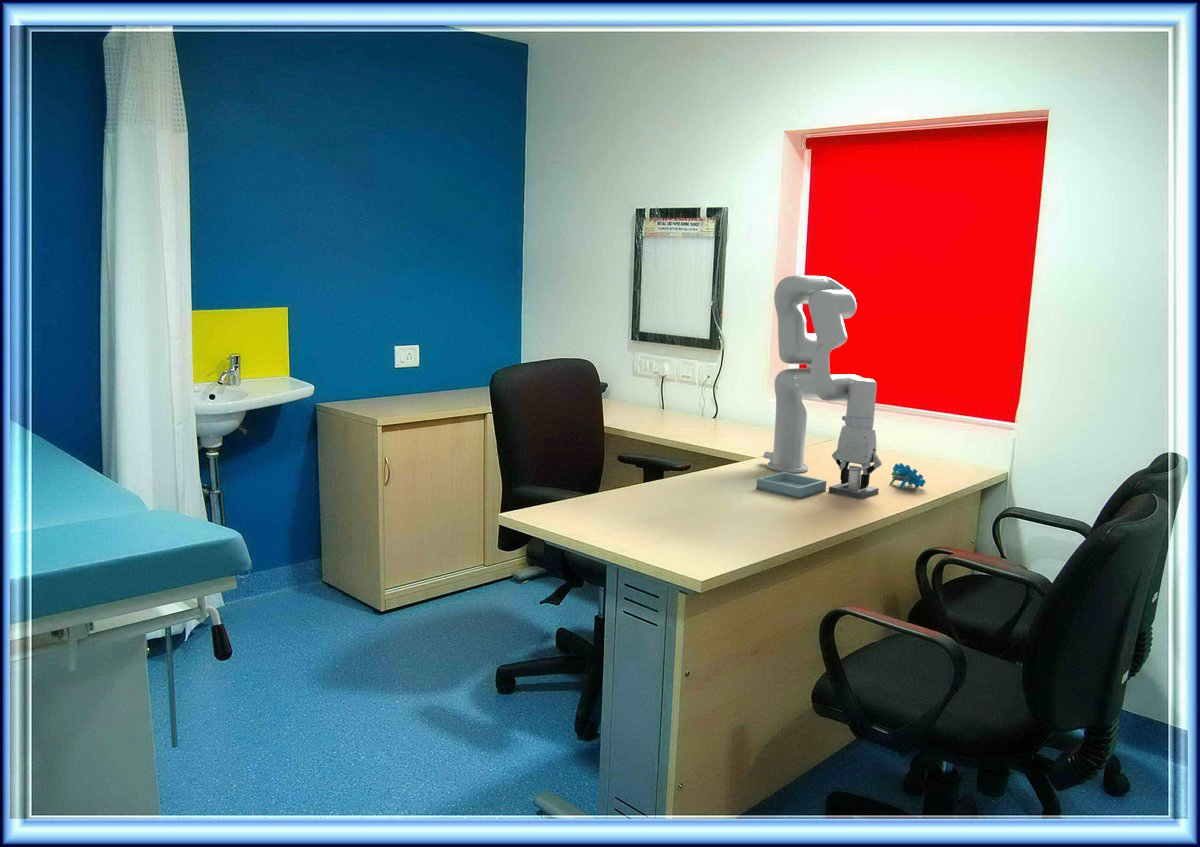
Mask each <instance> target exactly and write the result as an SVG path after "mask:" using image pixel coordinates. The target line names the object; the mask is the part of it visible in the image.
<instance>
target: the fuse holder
mask: <svg viewBox="0 0 1200 847" xmlns="http://www.w3.org/2000/svg"><path fill="white" fill-rule="evenodd" d="M848 483H849V482H848ZM848 483H845V484H841V482H839V483H837V484H834V485H830V486H828V493H833V494H836V493H837V495H842V496H845V495H846V497H851V498H856V499H860V500H862V499H866V498H868V497H871V496H874V495H878V494H879V490H880V489H879V488H880V487H876V486H871V485H868V487H866V488H861V487H860V490H859V491H857V490H852V489H848Z"/></svg>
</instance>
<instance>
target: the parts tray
mask: <svg viewBox="0 0 1200 847" xmlns="http://www.w3.org/2000/svg"><path fill="white" fill-rule="evenodd" d="M755 489H756V490H757V491H758V490H759V491H764V492H767V493H771V494H776V495H779V496H784V497H788V498H792V499H796V500H800V499H804V498H807V497H811V496H814V495H818V494H821V493H825V492H827V480H824V479H819V478H815V477H814V478H813V477H809V476H805V475H801V474H798V473H789V472H778V473H775V474H771V475H767V476H763V477H760V478H756V488H755ZM817 493H818V494H817Z"/></svg>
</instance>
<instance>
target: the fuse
mask: <svg viewBox="0 0 1200 847" xmlns="http://www.w3.org/2000/svg"><path fill="white" fill-rule="evenodd" d="M848 469H849V483H848V489H852V490H857V491H859V490H860V483H861V475H862V472H863V469H862V465H849V466H848Z"/></svg>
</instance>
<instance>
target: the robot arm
mask: <svg viewBox="0 0 1200 847" xmlns="http://www.w3.org/2000/svg"><path fill="white" fill-rule="evenodd" d="M773 297H774V298H773V300H774V306H775V312H776V315H777V334H778V336H777V338H778V339H777V340H778V341H777V342H778V356H779V359H780V361H781V362H782V363H784V364H787V365H806V368H803V367H802V368H801V367H800V368H798V367H797V368H795V367H794V368H786V369H783V370H781V371H780V372H778V373H777V375H776V376H775V379H774V395H775V407H776V408H775V423H774V439H773V451H772V452H771V451H768V450H767V451H765V452H764V453H763V456H762V457H763V459H769V462H767V465H766V466H767V468H768V469H770V470H772V471H776V472H779V473H782V472H787V473H792V474H798V473H804V472H807V471H808V470H809V466H808V464H805V463H804V462H805V461H804V459H805V446H806V434H807V433H806V432H807V422H808V421H807V419H808V413H807V409H806V407H805V404H804V402H803V400H809V399H811V400H812V399H820V400H821V401H823V402H846V414H845V415H843V416H841V420H842V421H843V422H844V425H842V427H841V429H840V433H839V437H838V441H837V442H838V443H837V448H836V450H835V451H834V452H833V453H832V454H831V457H832V459H833V460H834V461H835V462H836V463H835V464H837V466H838V467H839V470H840V483H841V484H845V483H848V482H849V471H850V470H849V466H850V463H851V464H858V465H860V466H861V467H862V473H861V480H860V487H861V488H866V487H868V486H870V485H869V484H870V477H871V476H870V475H871V474H872V472H874V471H875V470H877V469H878V468H879V467H881V466H882V465H883V463H882V461H881V459H880V458H879V456H878V455H877V435H876V428H874V420H875V408H876V399H877V398H876V397H877V389H878V388H877V382H876V381H875V380H874V379H873V378H865V377H862V376H860V375H856V374H850V373H847V374H831V372H830V370H831V368H830V367H831V366H830V353H831V352H832V350H833V351H834V350H835V349H836V348H840V347H841V346H842V345H844V344H845V343H846V342H847V340H848V334H847V331H846V327H845V323H844V320H846V319H850V318H852V317H853V316H854V315H855V314H856V311H857V302H856V298H855V296H854V294H853V293H852V292H851V291H850V289H847V288H846V287H845V286H843V285H842V284H840V283H839V282H838V281H836V280H834V279H832V278H830V277H827V276H823V275H822V276H821V275H820V276H819V275H791V276H790V275H789V276H786V277H784V278H782V279H781V280H780V281H779V282H778V283H777V285H776V287H775V290H774V296H773ZM802 304H803V305H808V310H809V314H810V317H811V320H812V326H813V329H814V330H813V331H814V333H808V332H807V319H806V316H805V314H804V311H803V310H802V309H801V307H800V306H799V305H802ZM872 463H873V464H872Z"/></svg>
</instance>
